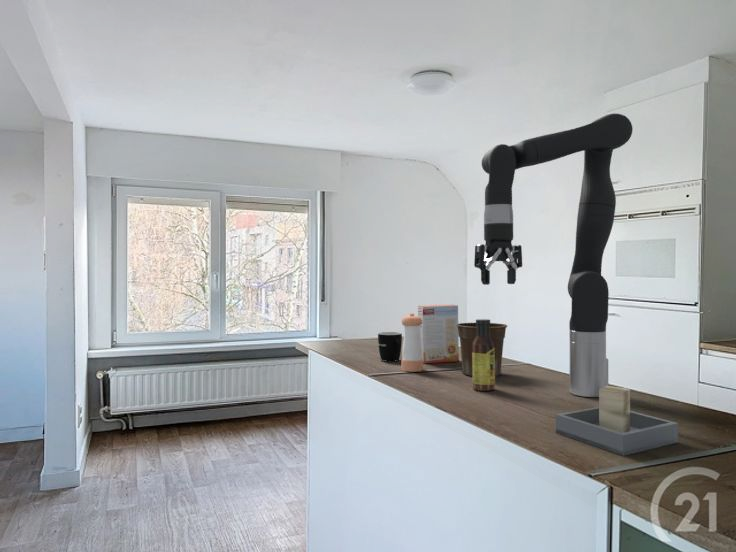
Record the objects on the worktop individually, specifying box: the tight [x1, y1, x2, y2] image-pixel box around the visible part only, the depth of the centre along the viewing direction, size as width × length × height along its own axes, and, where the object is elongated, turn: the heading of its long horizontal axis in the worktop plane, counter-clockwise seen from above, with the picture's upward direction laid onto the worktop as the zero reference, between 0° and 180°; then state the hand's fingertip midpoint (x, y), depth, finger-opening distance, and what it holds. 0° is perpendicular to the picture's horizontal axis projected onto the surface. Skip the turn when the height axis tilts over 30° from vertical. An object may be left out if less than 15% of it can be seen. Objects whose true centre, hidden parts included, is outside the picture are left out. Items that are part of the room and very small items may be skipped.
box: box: [555, 406, 679, 457], centre depth 109 cm, size 16×16×4 cm
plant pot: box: [456, 322, 508, 377], centre depth 176 cm, size 16×16×16 cm
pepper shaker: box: [400, 313, 424, 373], centre depth 183 cm, size 7×7×19 cm
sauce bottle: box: [472, 318, 496, 392], centre depth 153 cm, size 7×6×20 cm
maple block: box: [598, 385, 631, 433], centre depth 109 cm, size 4×4×9 cm
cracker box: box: [417, 303, 460, 364], centre depth 199 cm, size 14×6×21 cm, turn 105°
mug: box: [377, 331, 403, 362], centre depth 202 cm, size 12×9×10 cm
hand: (498, 284), depth 143 cm, fingers open, 8 cm apart
